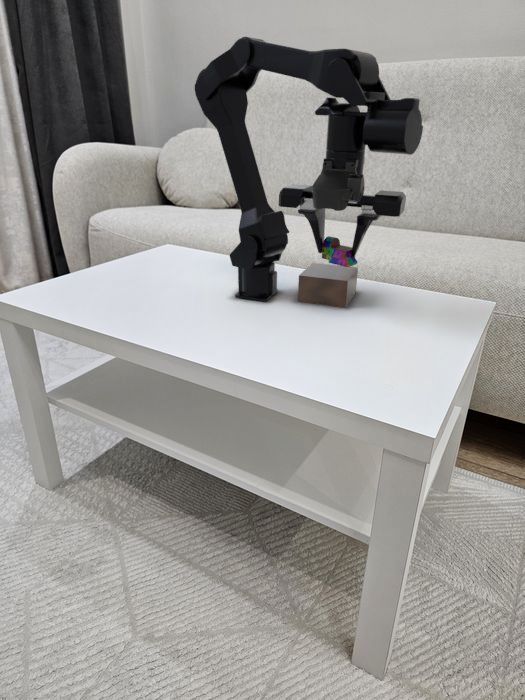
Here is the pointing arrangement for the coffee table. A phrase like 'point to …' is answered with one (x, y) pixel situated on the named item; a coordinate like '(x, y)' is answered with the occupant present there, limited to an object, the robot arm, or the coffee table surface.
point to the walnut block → (327, 284)
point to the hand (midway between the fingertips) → (336, 254)
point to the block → (337, 252)
